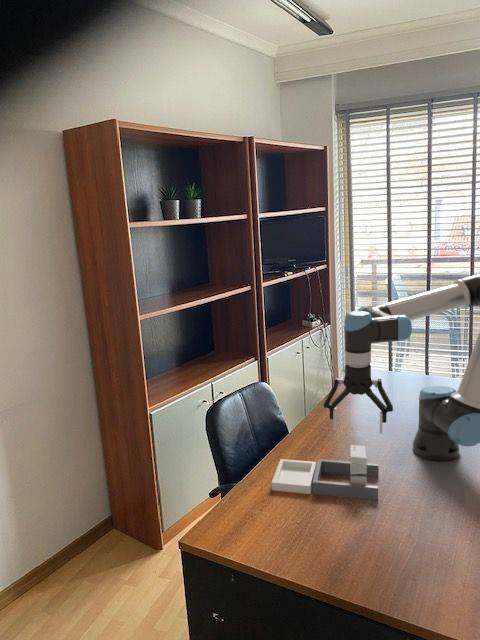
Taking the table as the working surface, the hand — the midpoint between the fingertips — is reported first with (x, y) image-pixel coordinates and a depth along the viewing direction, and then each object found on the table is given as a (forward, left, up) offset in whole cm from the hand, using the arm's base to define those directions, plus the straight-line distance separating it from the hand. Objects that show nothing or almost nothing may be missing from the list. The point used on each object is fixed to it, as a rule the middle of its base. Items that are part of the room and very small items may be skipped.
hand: (357, 430), depth 155 cm
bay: (+3, 0, -18) cm, 19 cm away
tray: (+20, 0, -18) cm, 27 cm away
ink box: (0, 0, -19) cm, 19 cm away
